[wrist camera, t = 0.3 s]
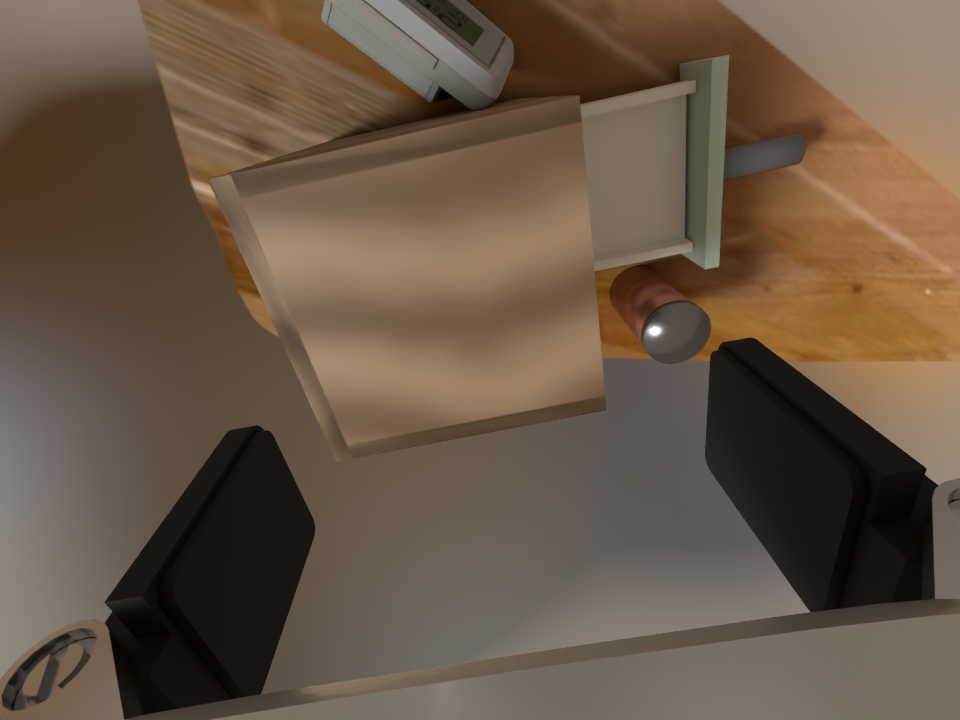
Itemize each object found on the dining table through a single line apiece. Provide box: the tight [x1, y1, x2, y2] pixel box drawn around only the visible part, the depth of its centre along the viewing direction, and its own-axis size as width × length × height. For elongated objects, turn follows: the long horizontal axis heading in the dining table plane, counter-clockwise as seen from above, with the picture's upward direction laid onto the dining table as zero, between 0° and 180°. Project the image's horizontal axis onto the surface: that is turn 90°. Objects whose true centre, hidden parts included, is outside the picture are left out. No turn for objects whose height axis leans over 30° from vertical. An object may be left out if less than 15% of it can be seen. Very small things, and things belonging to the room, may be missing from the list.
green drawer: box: [580, 55, 805, 271], centre depth 39 cm, size 16×23×5 cm
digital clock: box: [321, 0, 514, 110], centre depth 31 cm, size 16×9×11 cm, turn 44°
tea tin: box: [610, 266, 711, 364], centre depth 43 cm, size 5×5×10 cm
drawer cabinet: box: [208, 95, 606, 462], centre depth 33 cm, size 16×16×22 cm
